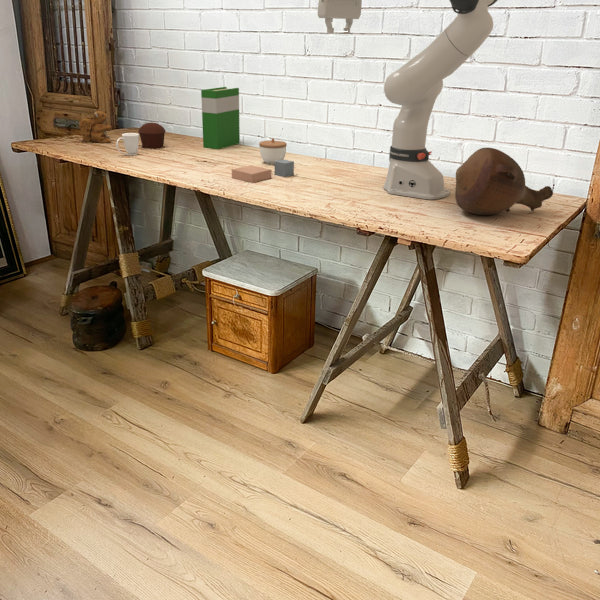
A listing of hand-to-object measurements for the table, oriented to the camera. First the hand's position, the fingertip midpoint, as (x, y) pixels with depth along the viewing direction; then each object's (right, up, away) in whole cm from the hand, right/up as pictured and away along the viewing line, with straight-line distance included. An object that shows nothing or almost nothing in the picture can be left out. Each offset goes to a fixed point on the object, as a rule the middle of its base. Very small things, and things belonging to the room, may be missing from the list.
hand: (338, 33), depth 210 cm
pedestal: (-30, -47, +12) cm, 57 cm away
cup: (-83, -31, +43) cm, 99 cm away
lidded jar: (-24, -36, +37) cm, 56 cm away
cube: (-19, -44, +18) cm, 51 cm away
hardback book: (-48, -21, +67) cm, 85 cm away
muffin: (-77, -24, +60) cm, 101 cm away
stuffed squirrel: (-104, -19, +68) cm, 126 cm away
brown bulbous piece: (+47, -64, -22) cm, 83 cm away
